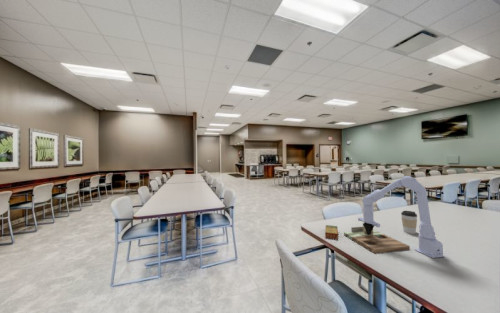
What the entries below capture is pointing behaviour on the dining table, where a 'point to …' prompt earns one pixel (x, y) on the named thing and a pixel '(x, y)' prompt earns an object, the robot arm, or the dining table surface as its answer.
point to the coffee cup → (409, 221)
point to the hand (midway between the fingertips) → (368, 234)
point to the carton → (331, 232)
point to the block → (365, 231)
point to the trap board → (375, 241)
